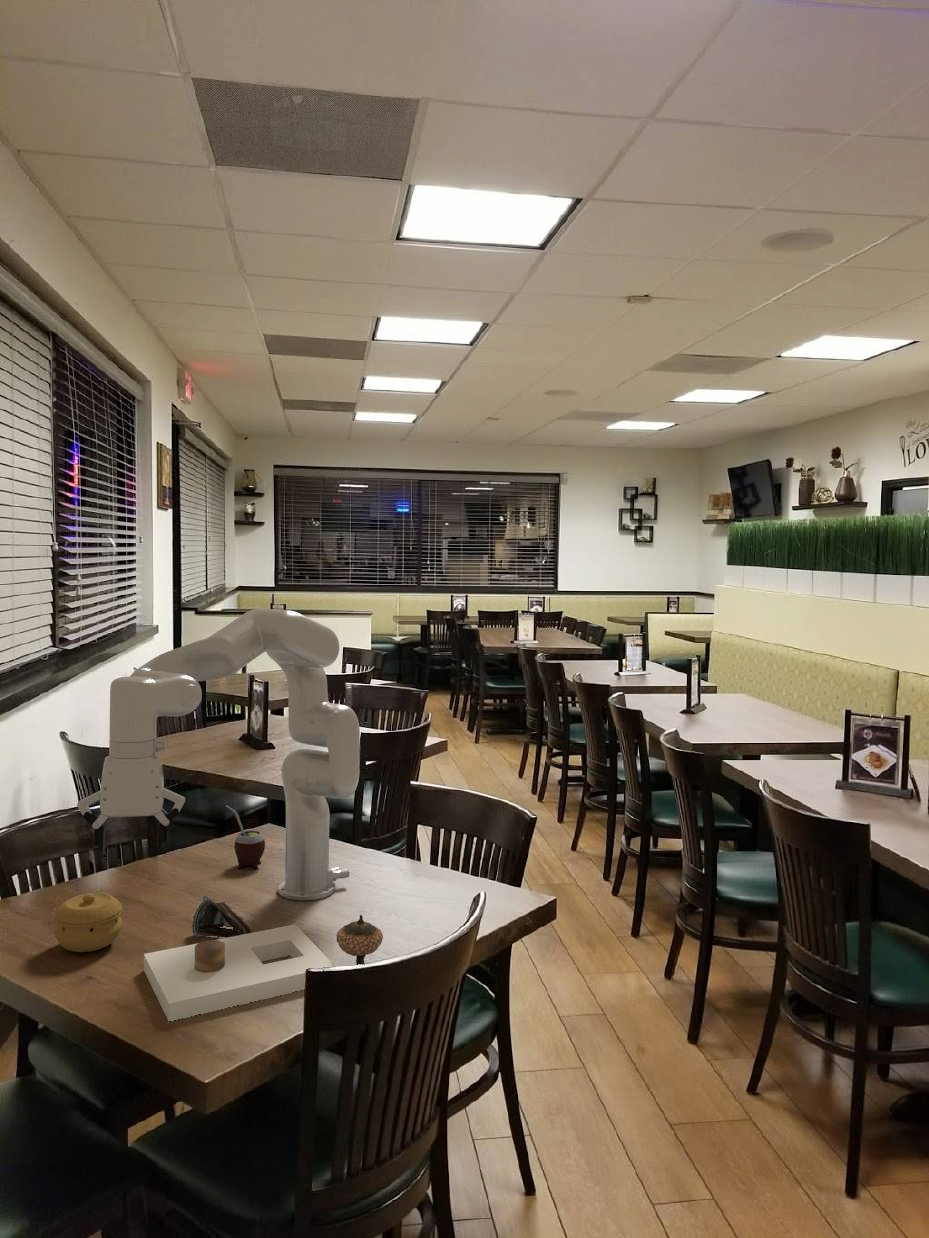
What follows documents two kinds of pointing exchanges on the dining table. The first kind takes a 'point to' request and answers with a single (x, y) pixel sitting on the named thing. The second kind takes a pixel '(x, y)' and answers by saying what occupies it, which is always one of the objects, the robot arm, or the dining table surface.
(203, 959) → the brown wooden cylinder
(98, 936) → the pot
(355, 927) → the acorn
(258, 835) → the mate gourd
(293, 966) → the plate
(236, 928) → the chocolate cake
